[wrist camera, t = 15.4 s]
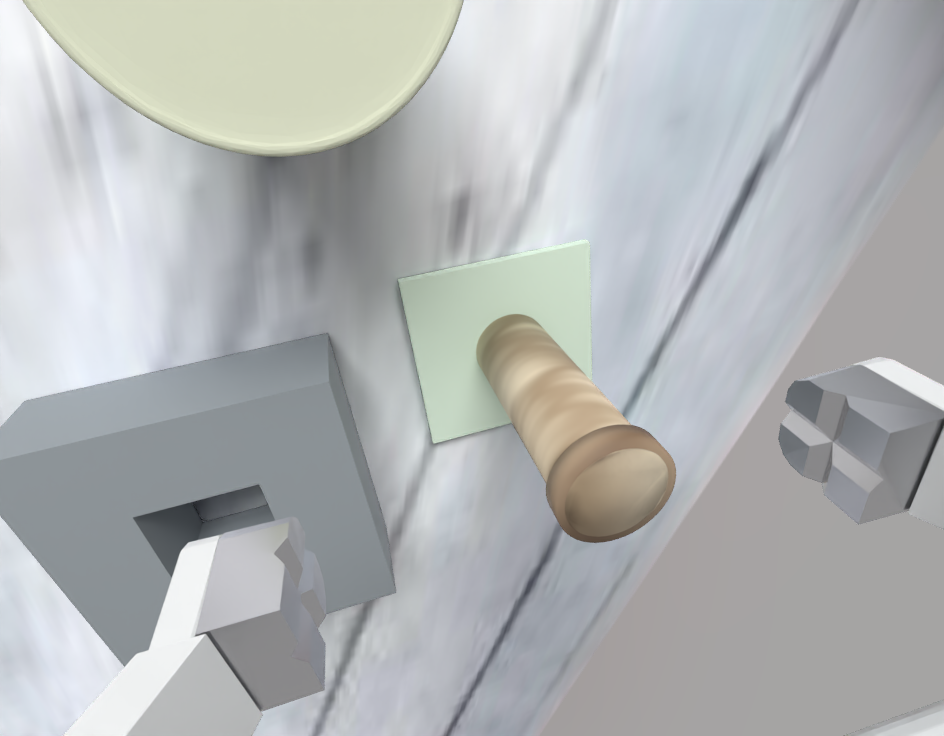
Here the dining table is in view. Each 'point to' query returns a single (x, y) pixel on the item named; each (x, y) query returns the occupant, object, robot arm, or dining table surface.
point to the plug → (574, 434)
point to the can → (257, 64)
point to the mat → (474, 308)
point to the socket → (190, 479)
